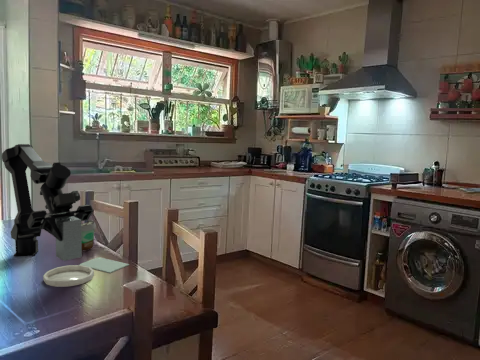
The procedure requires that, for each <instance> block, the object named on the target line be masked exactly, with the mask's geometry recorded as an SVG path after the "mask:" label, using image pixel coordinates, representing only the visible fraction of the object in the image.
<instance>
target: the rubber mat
mask: <svg viewBox="0 0 480 360" xmlns="http://www.w3.org/2000/svg"><path fill="white" fill-rule="evenodd" d="M78 265H83V266H87V267H91V268H92V269H93V270H94V271H95V270H96V271H100V272H103V273H107V274H113V273H115V272H116V271H118V270H121V269H123V268H126V267H128V266H130V264H129V263H125V262H122V261H117V260H113V259H108V258H104V257H100V256H98V257H96V258H92V259H90V260H87V261H84V262H82V263H81V262H80V264H78Z"/></svg>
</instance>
